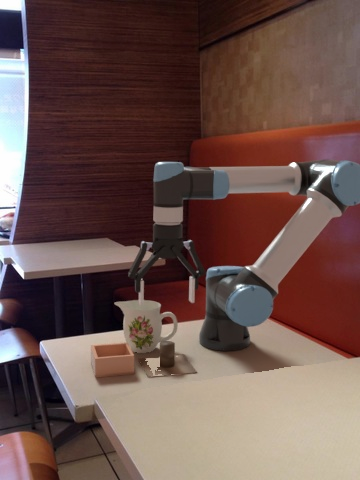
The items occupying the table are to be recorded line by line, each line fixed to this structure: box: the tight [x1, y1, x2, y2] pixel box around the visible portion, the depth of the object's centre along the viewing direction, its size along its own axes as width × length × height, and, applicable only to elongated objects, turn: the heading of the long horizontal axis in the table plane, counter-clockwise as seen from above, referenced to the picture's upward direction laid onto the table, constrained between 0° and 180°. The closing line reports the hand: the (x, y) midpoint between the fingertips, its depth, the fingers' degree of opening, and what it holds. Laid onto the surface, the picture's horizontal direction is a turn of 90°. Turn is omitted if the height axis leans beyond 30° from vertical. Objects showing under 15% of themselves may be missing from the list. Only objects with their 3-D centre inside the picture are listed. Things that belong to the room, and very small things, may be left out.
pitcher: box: [114, 299, 178, 354], centre depth 169 cm, size 11×18×14 cm, turn 92°
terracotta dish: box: [90, 342, 135, 378], centre depth 155 cm, size 10×10×5 cm
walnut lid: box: [137, 340, 198, 378], centre depth 157 cm, size 13×13×7 cm
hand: (166, 303), depth 155 cm, fingers open, 13 cm apart
